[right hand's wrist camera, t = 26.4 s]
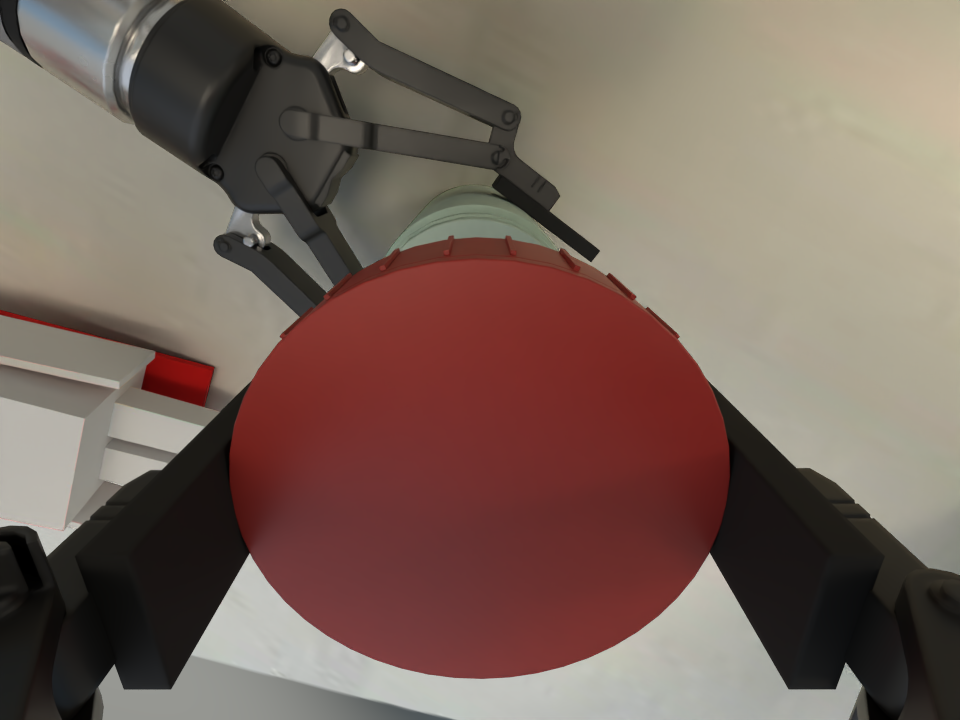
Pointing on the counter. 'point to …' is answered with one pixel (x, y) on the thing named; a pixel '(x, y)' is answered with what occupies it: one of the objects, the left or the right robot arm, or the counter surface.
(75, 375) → the toy
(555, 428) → the lid
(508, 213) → the jar
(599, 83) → the counter surface
